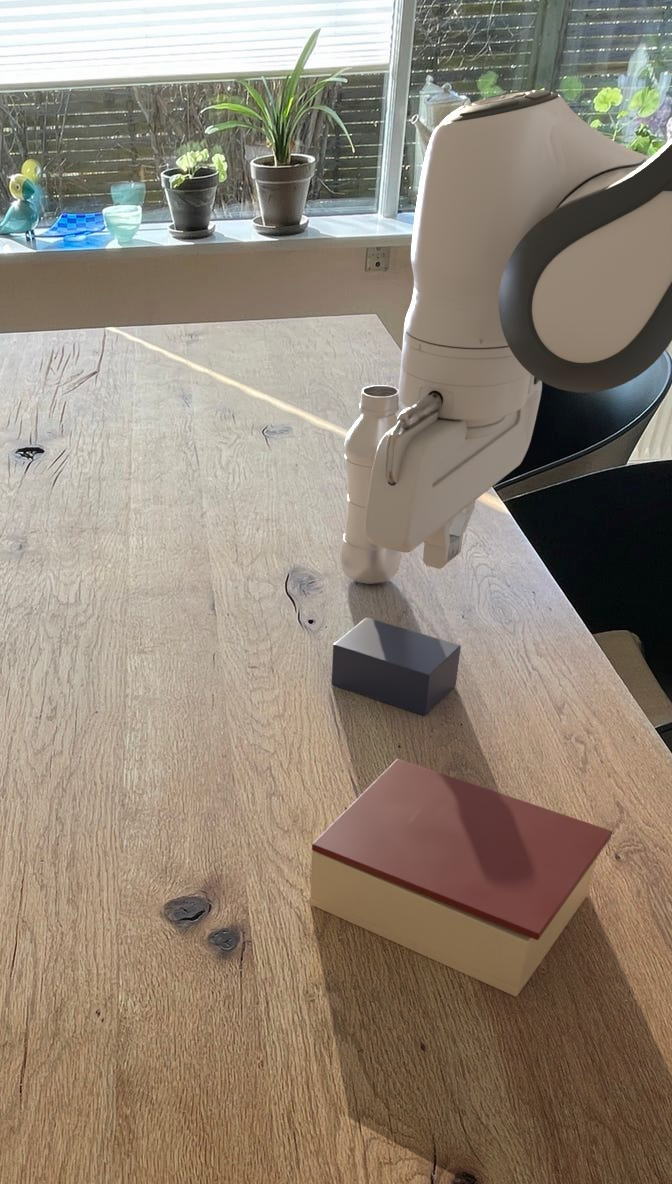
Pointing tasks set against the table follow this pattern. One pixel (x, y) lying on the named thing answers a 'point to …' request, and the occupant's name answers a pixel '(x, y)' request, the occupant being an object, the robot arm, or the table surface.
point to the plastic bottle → (367, 487)
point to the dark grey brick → (395, 665)
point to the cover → (465, 846)
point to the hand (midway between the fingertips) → (441, 560)
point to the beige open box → (437, 924)
